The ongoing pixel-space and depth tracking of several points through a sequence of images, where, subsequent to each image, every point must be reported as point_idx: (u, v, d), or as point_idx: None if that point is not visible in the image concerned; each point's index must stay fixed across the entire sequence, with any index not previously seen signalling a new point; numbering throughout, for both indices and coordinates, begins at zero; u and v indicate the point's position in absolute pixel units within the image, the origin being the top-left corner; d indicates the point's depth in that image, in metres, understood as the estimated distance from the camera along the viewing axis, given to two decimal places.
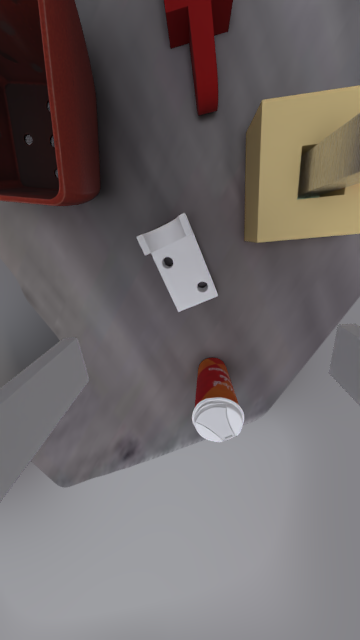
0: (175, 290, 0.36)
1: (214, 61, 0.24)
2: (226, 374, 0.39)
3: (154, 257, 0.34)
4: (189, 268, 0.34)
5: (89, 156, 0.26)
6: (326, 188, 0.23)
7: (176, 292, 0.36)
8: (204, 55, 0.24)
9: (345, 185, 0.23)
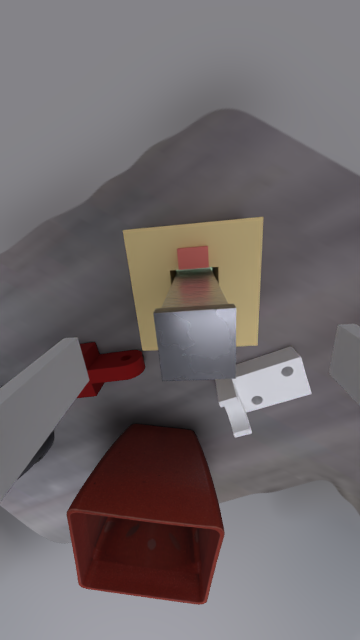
0: (286, 395, 0.34)
1: (117, 368, 0.32)
2: None
3: (250, 410, 0.36)
4: (265, 382, 0.34)
5: (178, 459, 0.34)
6: None
7: (288, 395, 0.34)
8: (114, 374, 0.33)
9: None
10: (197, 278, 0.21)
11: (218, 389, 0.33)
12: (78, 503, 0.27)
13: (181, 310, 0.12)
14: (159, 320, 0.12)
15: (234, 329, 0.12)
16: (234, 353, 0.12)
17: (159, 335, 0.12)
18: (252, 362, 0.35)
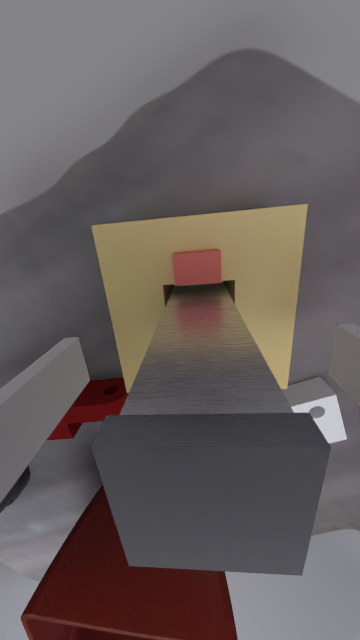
0: None
1: (98, 406, 0.25)
2: None
3: None
4: None
5: None
6: None
7: None
8: (95, 413, 0.25)
9: None
10: (204, 300, 0.14)
11: None
12: (37, 603, 0.19)
13: (169, 441, 0.04)
14: (110, 462, 0.04)
15: (315, 491, 0.04)
16: (307, 534, 0.05)
17: (112, 491, 0.05)
18: None
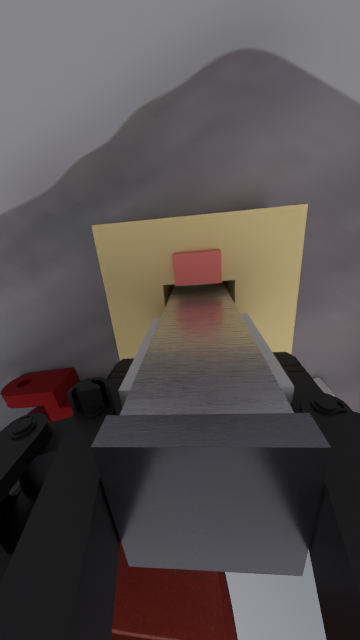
0: None
1: None
2: None
3: None
4: None
5: None
6: None
7: None
8: None
9: None
10: (204, 300, 0.14)
11: None
12: None
13: (169, 441, 0.04)
14: (110, 463, 0.04)
15: (316, 492, 0.04)
16: (307, 535, 0.05)
17: (112, 492, 0.05)
18: None
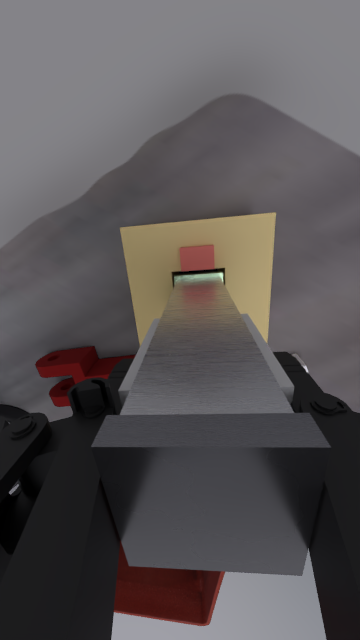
0: None
1: None
2: None
3: None
4: None
5: None
6: None
7: None
8: None
9: None
10: (204, 300, 0.14)
11: None
12: None
13: (169, 441, 0.04)
14: (109, 463, 0.04)
15: (316, 492, 0.04)
16: (308, 535, 0.05)
17: (112, 492, 0.05)
18: None
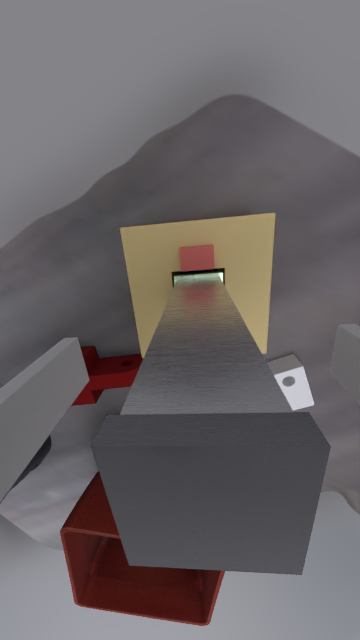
0: None
1: (117, 374, 0.31)
2: None
3: None
4: None
5: None
6: None
7: None
8: (115, 381, 0.31)
9: None
10: (204, 300, 0.14)
11: None
12: (72, 521, 0.25)
13: (169, 440, 0.04)
14: (110, 462, 0.04)
15: (315, 491, 0.04)
16: (308, 534, 0.05)
17: (112, 491, 0.05)
18: None
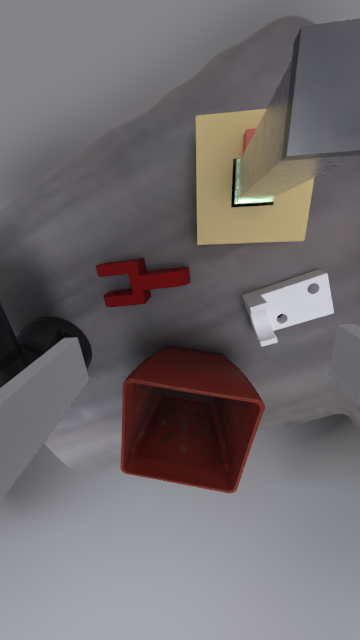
0: (309, 314, 0.37)
1: (168, 273, 0.35)
2: None
3: (275, 329, 0.39)
4: (291, 300, 0.36)
5: (215, 365, 0.37)
6: None
7: (312, 313, 0.37)
8: (165, 280, 0.36)
9: None
10: None
11: (248, 302, 0.36)
12: (133, 376, 0.30)
13: (340, 23, 0.09)
14: (307, 40, 0.09)
15: None
16: None
17: (300, 70, 0.09)
18: (279, 284, 0.38)
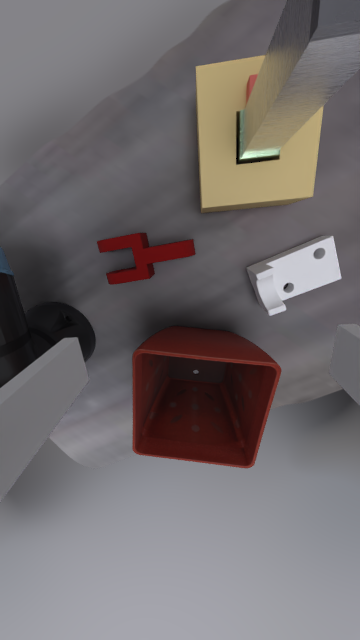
0: (316, 281, 0.36)
1: (173, 244, 0.34)
2: None
3: (281, 299, 0.38)
4: (297, 267, 0.36)
5: (224, 338, 0.36)
6: None
7: (319, 280, 0.36)
8: (170, 252, 0.35)
9: None
10: None
11: (254, 271, 0.35)
12: (143, 347, 0.29)
13: None
14: None
15: None
16: None
17: None
18: (284, 252, 0.37)
